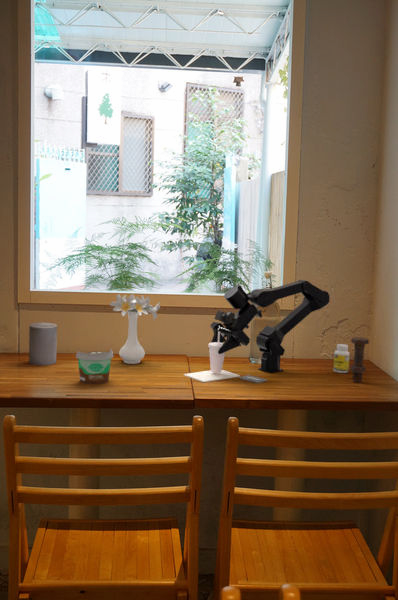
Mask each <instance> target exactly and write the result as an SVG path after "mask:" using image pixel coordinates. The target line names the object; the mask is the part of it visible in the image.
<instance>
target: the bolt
mask: <svg viewBox="0 0 398 600" xmlns="http://www.w3.org/2000/svg"><path fill="white" fill-rule="evenodd" d="M350 342H351V343H352V344H353V345H354V354H353V364H352V365H351V366H350V371H351V372H352V380H353V382H354V383H361V382H362V381H363V373H365V372H366V367H365V365H364V356H365V354H364V353H365V347H366V345H368V344H369V343H370V342H369V339H368V338H366V337H351V339H350Z"/></svg>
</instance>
